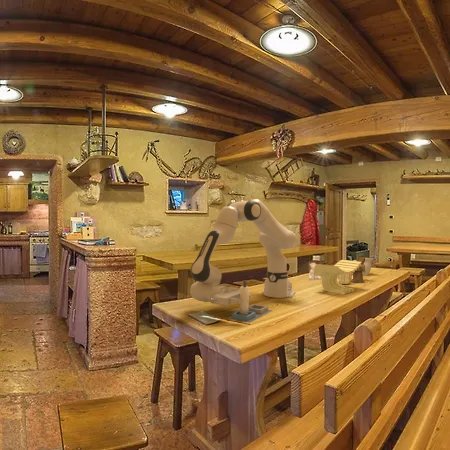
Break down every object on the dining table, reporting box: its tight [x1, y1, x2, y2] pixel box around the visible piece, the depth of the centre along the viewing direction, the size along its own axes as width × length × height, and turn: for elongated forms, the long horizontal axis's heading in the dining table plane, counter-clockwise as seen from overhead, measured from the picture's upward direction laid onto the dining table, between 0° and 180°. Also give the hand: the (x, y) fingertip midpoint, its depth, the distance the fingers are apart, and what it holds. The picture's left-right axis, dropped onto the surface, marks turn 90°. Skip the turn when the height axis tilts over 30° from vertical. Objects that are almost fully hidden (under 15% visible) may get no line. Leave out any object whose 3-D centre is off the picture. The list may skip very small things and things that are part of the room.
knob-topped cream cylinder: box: [239, 279, 250, 316], centre depth 169 cm, size 4×4×17 cm
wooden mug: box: [351, 255, 366, 284], centre depth 266 cm, size 9×14×18 cm, turn 139°
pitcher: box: [352, 257, 375, 277], centre depth 295 cm, size 11×18×14 cm, turn 46°
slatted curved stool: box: [314, 259, 361, 295], centre depth 234 cm, size 30×16×18 cm, turn 134°
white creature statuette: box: [308, 262, 322, 281], centre depth 274 cm, size 10×9×12 cm
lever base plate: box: [225, 303, 274, 326], centre depth 175 cm, size 24×12×3 cm, turn 148°
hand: (245, 299), depth 169 cm, fingers open, 8 cm apart
